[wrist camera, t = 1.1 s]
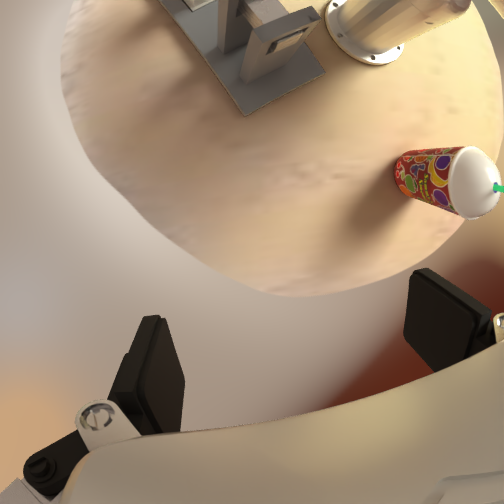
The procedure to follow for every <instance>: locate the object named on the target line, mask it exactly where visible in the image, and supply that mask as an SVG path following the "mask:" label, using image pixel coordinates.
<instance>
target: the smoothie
mask: <svg viewBox="0 0 504 504" xmlns="http://www.w3.org/2000/svg"><path fill="white" fill-rule="evenodd" d="M394 177H395V181H396V183H397V185H398V187H399V188H400V190H401V191H402V192H403V193H404V194H405V195H407V196H410V197H412V198H415V199H418V200H421V201H423V202H426V203H429V204H431V205H434V206H437V207H439V208H442V209H444V210H447V211H449V212H452V213H454V214H457V215H459V216H461V217H463V218H465V219H467V220H475V219H477V218H479V217H480V216H483V215H485V214H487V213H489V212H490V211H491V210H492V209H493V208H494V207H495V206H496V204H497V203H498V201H499V198H500V194H501V192H503V193H504V186H502V184H501V177H500V173H499V171H498V169H497V167H496V165H495V164H494V162H493V161H492V160H491V159H490V158H489V157H488V156H486V155H485V153H484V152H483V151H481V150H480V149H479V148H478V147H474V146H467V147H450V148H436V149H423V150H412V151H408V152H406V153H404V154H403V155H402V156H401V157H400V158H399V159H398V161H397V163H396V164H395V169H394Z"/></svg>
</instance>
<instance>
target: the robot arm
mask: <svg viewBox="0 0 504 504" xmlns="http://www.w3.org/2000/svg"><path fill="white" fill-rule="evenodd" d="M489 2H490V3H491V4H492V5H493V7H494V8H495V9H496V10H497V11H498V13H499V14H500V15H501V17H502V18H503V19H504V0H489ZM470 4H471V0H332V1H331V2H330V3H329V5H328V6H327V8H326V12H325V22H326V26H327V29H328V31H329V33H330V35H331V37H332V38H333V40H334V41H335V42H336V43H337V45H338V46H339V47H340V48H341V49H342V50H344V51H345V52H346V53H347V54H349V55H350V56H352V57H353V58H355V59H357V60H359V61H361V62H364V63H367V64H372V65H384V64H387V63H390V62H392V61H394V60H395V59H397V58H398V57H399V56H400V54H401V53H402V50H403V48H404V43H405V42H407V41H409V40H411V39H413V38H415V37H417V36H420V35H422V34H424V33H426V32H428V31H430V30H432V29H434V28H436V27H439V26H441V25H443V24H445V23H447V22H450V21H452V20H454V19H457V18H459V17H460V16H462V15H463V14H464V13H465V12H466V11H467V10H468V8H469V6H470ZM491 313H492V310H490V309H489V308H488V307H486V306H485V305H483V304H482V303H480V302H479V301H478V300H476V299H474V298H473V297H472V296H470V295H469V294H467V293H466V292H464V291H463V290H461V289H460V288H458V287H457V286H455V285H453V284H452V283H451V282H449V281H447V280H446V279H444V278H443V277H441V276H440V275H438V274H437V273H435V272H433V271H432V270H430V269H429V268H423V269H419V270H415V271H414V272H413V274H412V275H411V276H410V279H409V292H408V300H407V309H406V317H405V324H404V331H403V334H404V337H405V340H406V341H407V342H408V343H409V344H410V345H411V347H412V348H413V349H414V350H415V351H416V352H417V353H418V354H419V356H420V357H421V358H422V359H423V360H424V361H425V362H426V363H427V365H428V366H429V367H430V368H431V369H432V370H433V371H434V373H433V374H431V375H428V376H426V377H423V378H421V379H418V380H415V381H413V382H410V383H407V384H405V385H402V386H399V387H396V388H394V389H391V390H388V391H385V392H382V393H379V394H376V395H373V396H369V397H366V398H363V399H360V400H356V401H353V402H349V403H346V404H342V405H339V406H335V407H331V408H327V409H323V410H319V411H315V412H311V413H306V414H301V415H297V416H292V417H287V418H282V419H277V420H271V421H265V422H259V423H253V424H247V425H239V426H231V427H223V428H214V429H204V430H196V431H185V432H180V428H181V418H182V407H183V398H184V388H185V379H184V374H183V371H182V368H181V365H180V362H179V359H178V357H177V353H176V350H175V347H174V344H173V341H172V337H171V334H170V330H169V328H168V324H167V321H166V319H165V318H161V317H160V316H159V315H152V316H144V317H143V318H142V321H141V323H140V326H139V328H138V331H137V333H136V335H135V338H134V340H133V342H132V345H131V347H130V350H129V353H126V354H125V356H124V358H123V360H122V362H121V365H120V368H119V370H118V372H117V375H116V378H115V380H114V383H113V386H112V388H111V391H110V393H109V396H108V398H107V400H103V399H102V400H95V401H92V402H89V403H88V404H86V405H84V406H83V407H82V408H81V409H80V410H79V411H78V413H77V415H76V418H75V424H76V427H77V430H76V431H74V432H72V433H70V434H69V435H67V436H65V437H63V438H62V439H60V440H58V441H56V442H55V443H53V444H51V445H49V446H47V447H46V448H44V449H42V450H40V451H38V452H36V453H35V454H33V455H32V456H30V457H29V459H28V460H27V461H26V463H25V465H24V468H23V474H24V478H23V479H22V480H20V479H18V478H16V479H15V480H14V481H13V482H12V483H11V484H10V485H9V486H8V487H7V488H6V489H5V490H4V491H3V492H2V493H1V494H0V504H504V313H501V314H498V315H496V316H495V317H494V319H493V322H492V321H491V320H490V316H491Z"/></svg>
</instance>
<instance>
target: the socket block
mask: <svg viewBox="0 0 504 504" xmlns="http://www.w3.org/2000/svg"><path fill="white" fill-rule="evenodd" d="M158 1H159V2H160V3H161V5H162V6H163V7H164V8H165V10H166V11H167V12H168V13H169V14H170V16H171V17H172V18H173V20H174V21H175V22H176V23H177V25H178V26H179V27H180V28H181V30H182V31H183V32H184V34H185V35H186V36H187V38H188V39H189V40H190V41H191V43H192V44H193V45H194V47H195V48H196V49H197V51H198V52H199V53H200V55H201V56H202V57H203V59H204V60H205V62H206V63H207V64H208V66H209V67H210V68H211V70H212V71H213V73H214V74H215V75H216V77H217V78H218V80H219V81H220V82H221V84H222V85H223V87H224V88H225V89H226V91H227V92H228V94H229V95H230V97H231V98H232V100H233V101H234V102H235V104H236V105H237V107H238V108H239V110H240V111H241V113H242V114H243V116H244V117H246V116H247V115H249V114H251V113H253V112H254V111H256V110H258V109H259V108H261V107H263V106H265V105H267V104H268V103H270V102H272V101H274V100H276V99H277V98H279V97H281V96H283V95H285V94H287V93H289V92H290V91H292V90H294V89H296V88H298V87H300V86H302V85H304V84H306V83H308V82H310V81H312V80H314V79H316V78H318V77H320V76H322V75H324V74H325V73H326V72H325V71H324V69H323V68H322V66H321V65H320V63H319V62H318V60H317V59H316V58H315V56H314V55H313V53H312V52H311V50H310V49H309V48H308V46H307V45H306V44H305V42H304V40H305V39H306V38H307V37H308V35H309V34H310V33H311V32H312V30H313V29H314V28H315V27H316V25H317V24H318V23H319V22H320V20H321V19H322V18H321V17H320V16H319V15H318V13H317V12H316V11H315V10H314V8H313V7H312V6H310V7H307V8H304V9H301V10H298V11H296V12H293V13H290V14H288V15H285V16H283V17H280V18H278V19H275V20H273V21H270V22H268V23H266V24H263V25H261V26H259V27H257V28H253V27H252V25H251V24H250V23H249V22H248V20H247V19H246V18H245V17H244V15H243V14H242V13H241V12H240V11H239V9H238V8H237V6H238V1H239V0H216V1H214V2H212V3H210V4H208V5H206V6H203V7H201V8H199V9H197V10H195V11H193V12H191V11H190V10H189V8H188V7H187V6H186V5H185V4H184V2H183V1H182V0H158ZM301 29H302V31H303V32H304V33H303V35H302V36H301V37H300V39H299V40H298V41H297V43H295V44H293V45H290V46H288V47H286V48H284V49H282V50H279V51H277V52H275V53H272V52H271V50H270V49H269V47H270V45H271V43H272V42H273V41H276V40H278V39H280V38H282V37H285V36H287V35H289V34H292V33H294V32H296V31H299V30H301Z"/></svg>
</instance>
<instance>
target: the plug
mask: <svg viewBox="0 0 504 504" xmlns="http://www.w3.org/2000/svg"><path fill="white" fill-rule="evenodd" d="M182 1H183V2H184V4H185V5H186V6H187V7H188V8H189V10H190V11H191V12H193V11H195V10H197V9H199V8H201V7H203V6H206V5H208V4H210V3H212V2H214V1H216V0H182Z"/></svg>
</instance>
